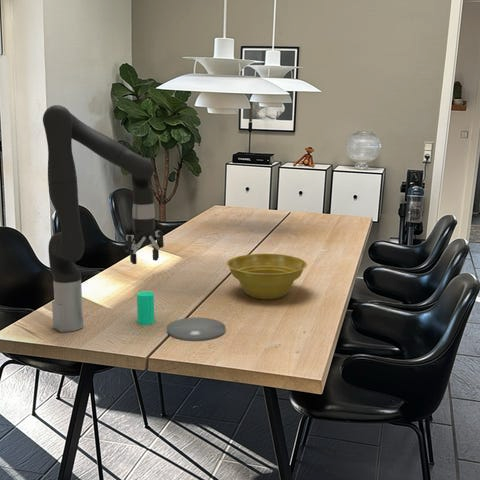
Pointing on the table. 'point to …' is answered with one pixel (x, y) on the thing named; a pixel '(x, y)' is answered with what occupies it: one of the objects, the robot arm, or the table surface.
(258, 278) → the planter bowl
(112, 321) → the table surface
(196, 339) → the candle tray
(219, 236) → the table surface
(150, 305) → the candle
